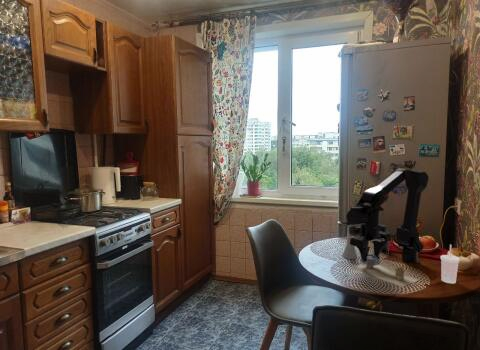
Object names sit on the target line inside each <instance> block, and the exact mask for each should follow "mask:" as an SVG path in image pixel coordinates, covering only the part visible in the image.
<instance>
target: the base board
mask: <svg viewBox="0 0 480 350" xmlns="http://www.w3.org/2000/svg"><path fill="white" fill-rule="evenodd" d="M367 257H368V258H373V257H372V256H367ZM350 268H352V269H353V270H355V271H359V272H362V273H364V274H367V275H369V276H372V277H374V278H377V279H379V280H381V281H384V282H386V283H389V284H391V285H395V286H396V287H400V288H403V287H406V286H408V285H410V284H414V283H416V282H418V281H420V280H421V278H420V279H419V278H417V277H414V276H411V275H409V274H406V273H405V269H404V267H403V266H401V265H398V266H396V267H395V270H394V269H392V268H389V267H387V266H384V265H381V264H379V265H376V266H373V265H366V264H363V263H360V264H358V265H354V266H351V267H350Z"/></svg>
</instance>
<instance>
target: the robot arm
mask: <svg viewBox="0 0 480 350" xmlns="http://www.w3.org/2000/svg"><path fill="white" fill-rule="evenodd" d="M394 171H395V172H393V173H392V174H391V175H389V176H388V177H387V178H386V179H384V180H383V181H382V182H381V183H380V184H378V185H376V186H374V187H370V188H368V189H366V190H364V191H363V192H362V193H361V197H360V198H359V200H358V202H357V203H356V205H355V206H351V207H350V208H349V209H350V210H348V211H347V213H346V220H347V223H348V224H349V225H351V226H349V227H348V232H349V234H350V235H351V236H353V238H351V239H350V245H353V246H354V247H356V248H357V249H358V251H359V254H360V258H361V257H362V260H363V262H366V259H367V256H368V253H370V248H371V246H369V243H370V242H372V245H373V244H374V249H373V254H375V255H378V256H379V257H380V255H381V254H382V253H381V251H382V249H383V248H384V246H385V245H386V244H387V242H386V241H389V242H391V241H392V236H391V234H390V232H388V233H385V232H381V231H379V228H381V225H379V224H380V212H382V211H383V212H384V210H385V209H384V208H383V207H382V206H381V205H383V203H384V202H385V201H386V199H387V196H388V194H389V193H391V192H392V191H393V190H394V189H396V188H397V187H398V186H400V184H402V183H403V182H404V181H405V183H404V185H405V187H406V189H407V195H406V202H405V209H404V214H403V215H404V216H403V221H402V224H401V226H400V227H396V234H395V235H394V236H395V239H396V243H397V245H398V247H401V248H402V249H401V250H402V252H401V262H404V263H411V264H412V263H413V264H416V265H419V264H421V261H420V260H418V257H419V256H418V254H419V253H420V252H421V251H423V250H424V247H425V246H424V244H423V243H422V242H421V240H420V233H419V230H418V228H417V223H418V216H419V215H418V214H419V210H420V203H421V196H422V193H423V192H424V190H425V189H426V188H427V186H428V182H429V179H430V178H429V175H428V174H427V172H425V171H420V170H419V171H417V170H410V169H408V168H401V167H400V168H397V169H396V170H394ZM355 225H360V226H359V227H358V226H355ZM384 239H385V241H384Z"/></svg>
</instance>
